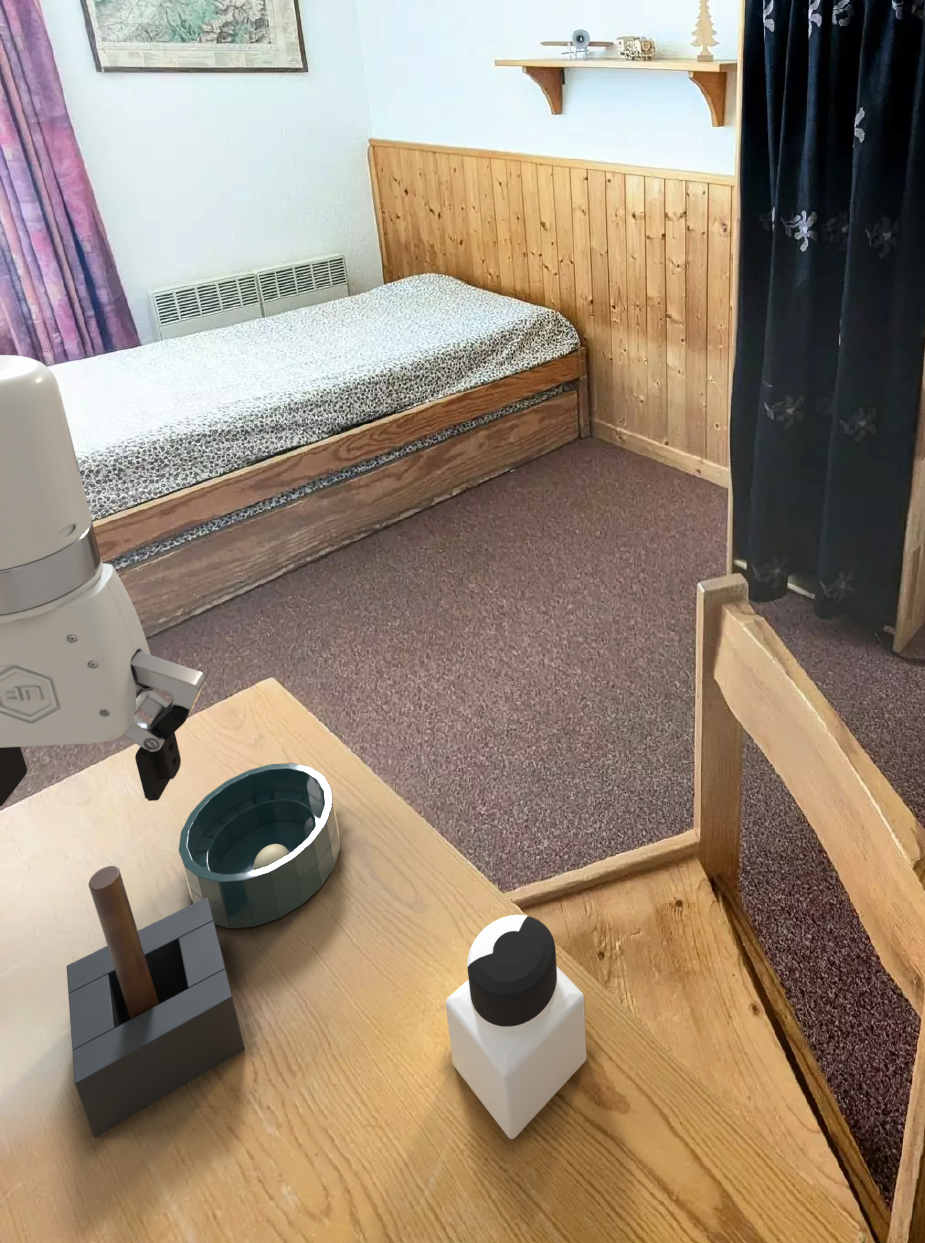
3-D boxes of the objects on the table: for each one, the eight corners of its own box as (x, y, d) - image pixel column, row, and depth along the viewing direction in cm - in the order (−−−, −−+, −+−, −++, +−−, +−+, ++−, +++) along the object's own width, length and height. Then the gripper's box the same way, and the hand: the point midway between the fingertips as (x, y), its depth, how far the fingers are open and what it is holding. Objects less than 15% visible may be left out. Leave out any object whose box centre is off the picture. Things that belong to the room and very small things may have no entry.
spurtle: (140, 1070, 63) (84, 892, 56) (148, 1044, 64) (94, 868, 58) (167, 1064, 63) (114, 887, 57) (174, 1038, 65) (123, 863, 59)
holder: (84, 1019, 66) (66, 965, 64) (220, 948, 71) (207, 896, 69) (95, 1141, 59) (74, 1084, 57) (245, 1051, 64) (232, 996, 62)
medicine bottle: (588, 1060, 63) (584, 946, 59) (511, 1144, 59) (501, 1026, 54) (527, 992, 68) (519, 881, 64) (451, 1065, 63) (437, 950, 59)
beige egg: (250, 872, 74) (266, 897, 75) (284, 848, 75) (299, 872, 76) (244, 853, 76) (260, 878, 77) (277, 830, 78) (292, 854, 79)
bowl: (166, 938, 72) (152, 886, 70) (224, 814, 84) (213, 767, 82) (318, 927, 73) (308, 876, 71) (355, 806, 85) (347, 759, 82)
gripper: (-189, 609, 46) (-97, 845, 52) (146, 598, 48) (199, 828, 54) (-87, 535, 53) (-16, 750, 59) (202, 527, 55) (243, 738, 61)
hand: (86, 787), depth 56 cm, fingers open, 9 cm apart
